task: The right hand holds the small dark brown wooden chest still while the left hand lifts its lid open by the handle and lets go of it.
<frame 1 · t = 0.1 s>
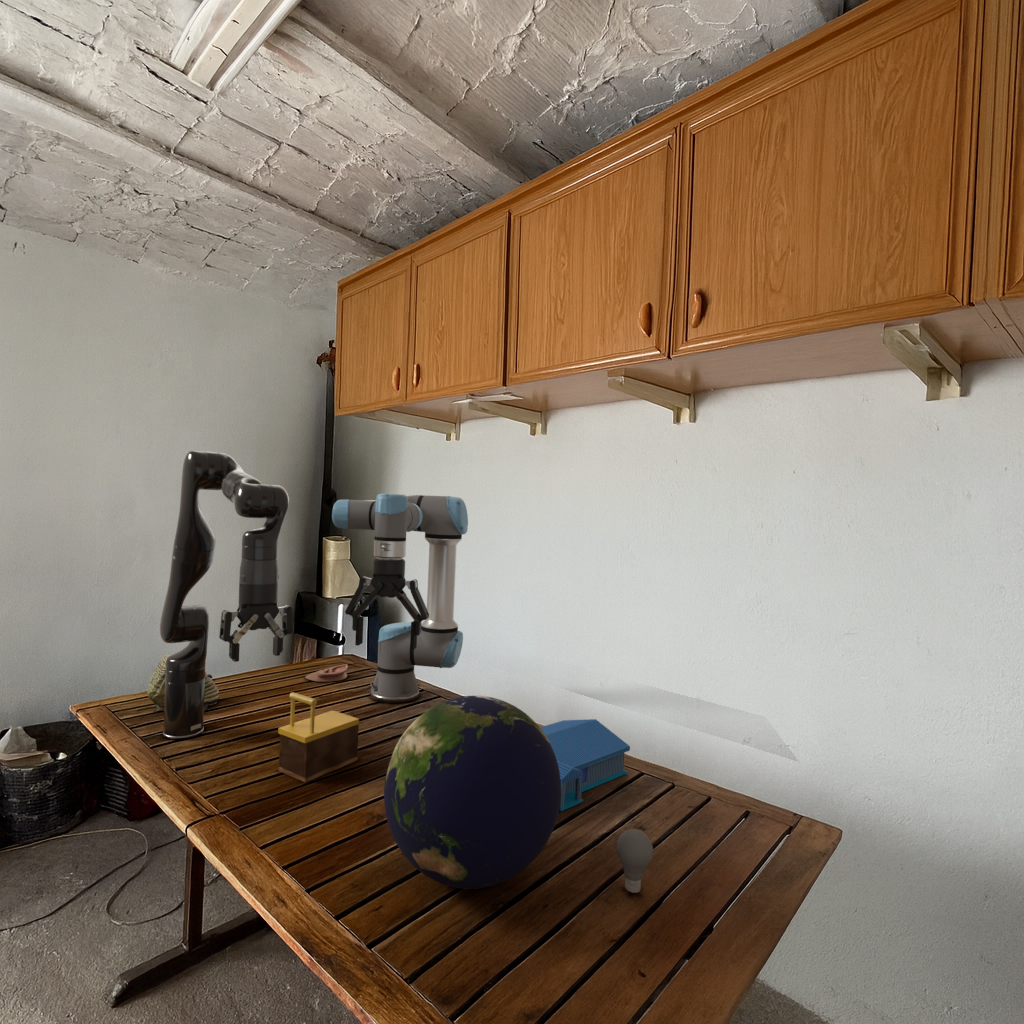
left hand: (256, 657, 132), 29 cm above the table, tool pointing down, fingers open, 8 cm apart
right hand: (385, 646, 152), 28 cm above the table, tool pointing down, fingers open, 13 cm apart
globe: (469, 875, 108), on the table
model building: (543, 782, 145), on the table
chest: (319, 765, 149), on the table
lid: (320, 709, 149), point 13 cm above the table, hinge at 0.0°
fossil: (183, 706, 185), on the table
light bulb: (632, 891, 106), on the table
anatomical model: (326, 678, 219), on the table
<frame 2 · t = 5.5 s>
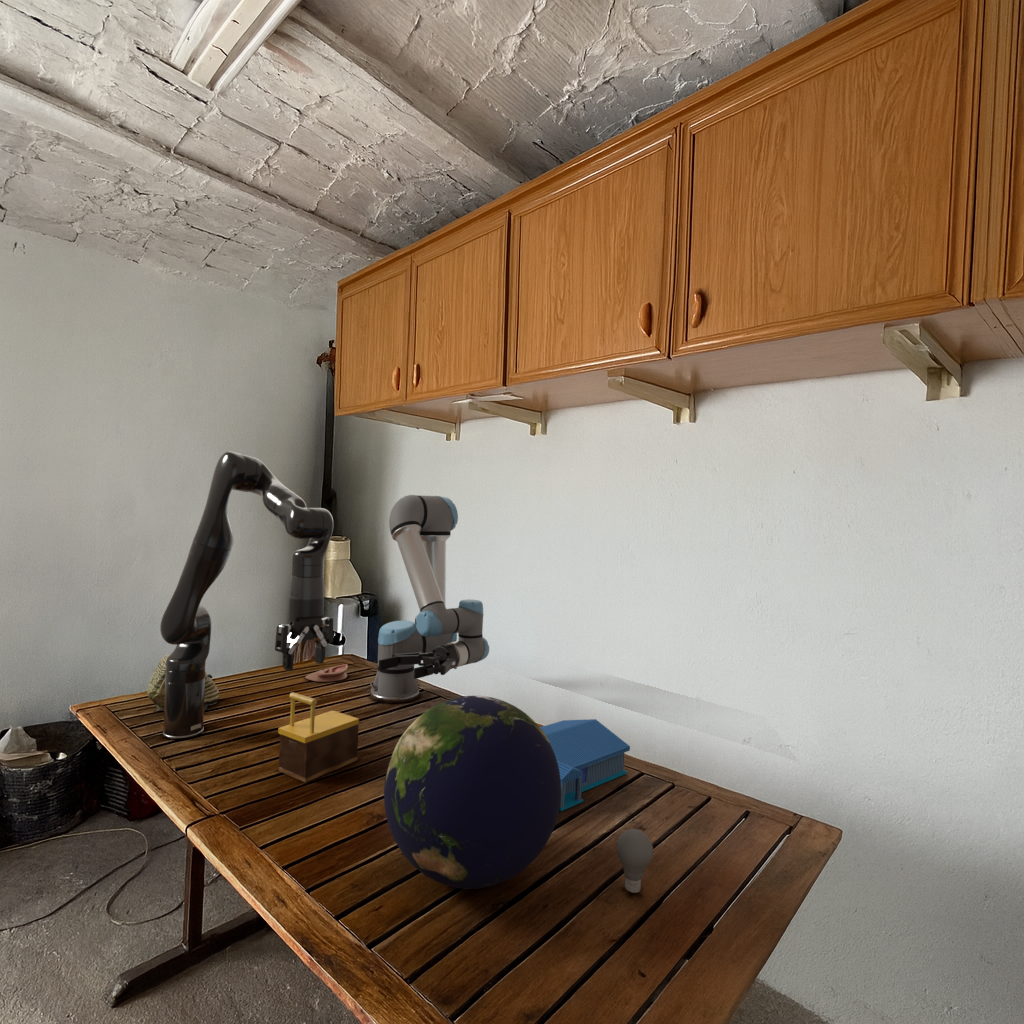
left hand: (304, 666, 144), 25 cm above the table, tool pointing down, fingers open, 8 cm apart
right hand: (396, 669, 171), 17 cm above the table, tool horizontal, fingers open, 13 cm apart
nothing on the table moved.
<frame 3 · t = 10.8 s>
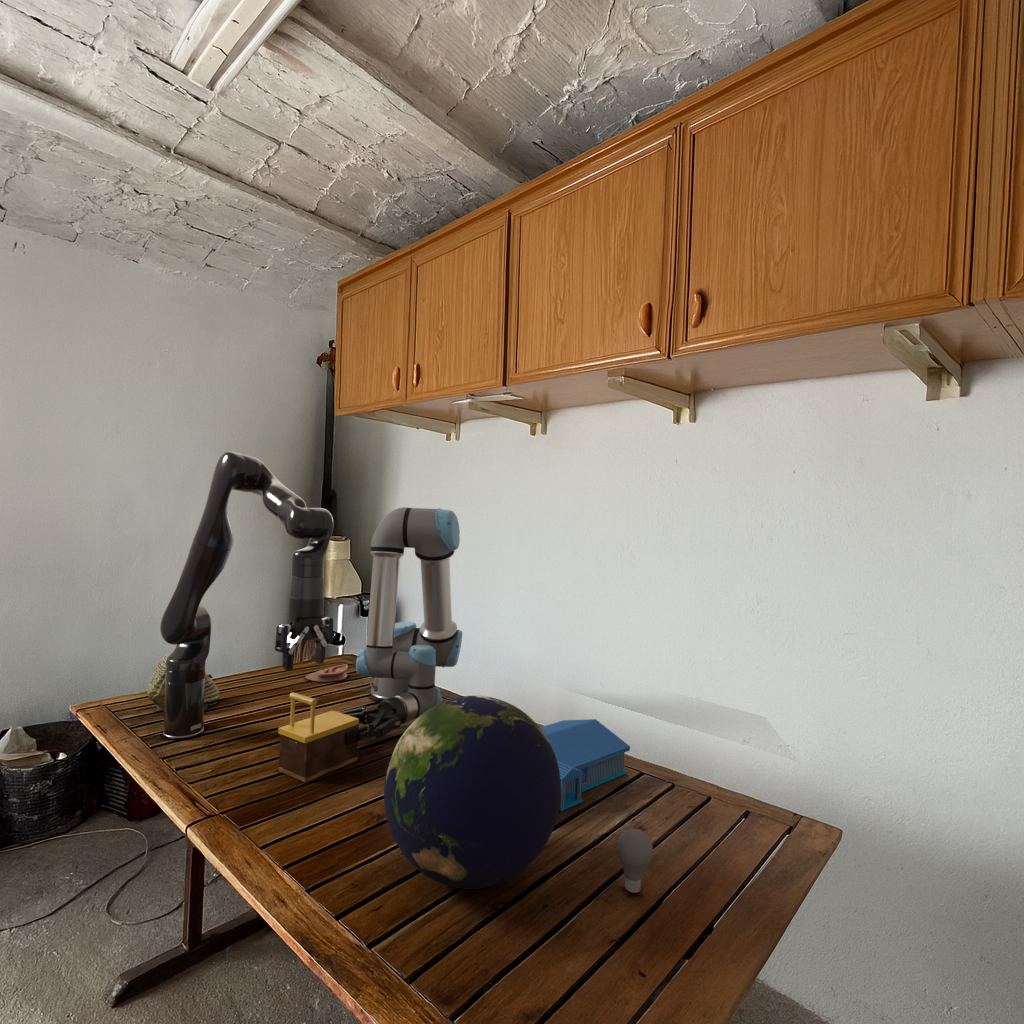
left hand: (304, 666, 144), 25 cm above the table, tool pointing down, fingers open, 8 cm apart
right hand: (331, 734, 152), 6 cm above the table, tool horizontal, fingers closed on chest, 9 cm apart
chest: (319, 765, 149), on the table, touching right hand
everything else where it was.
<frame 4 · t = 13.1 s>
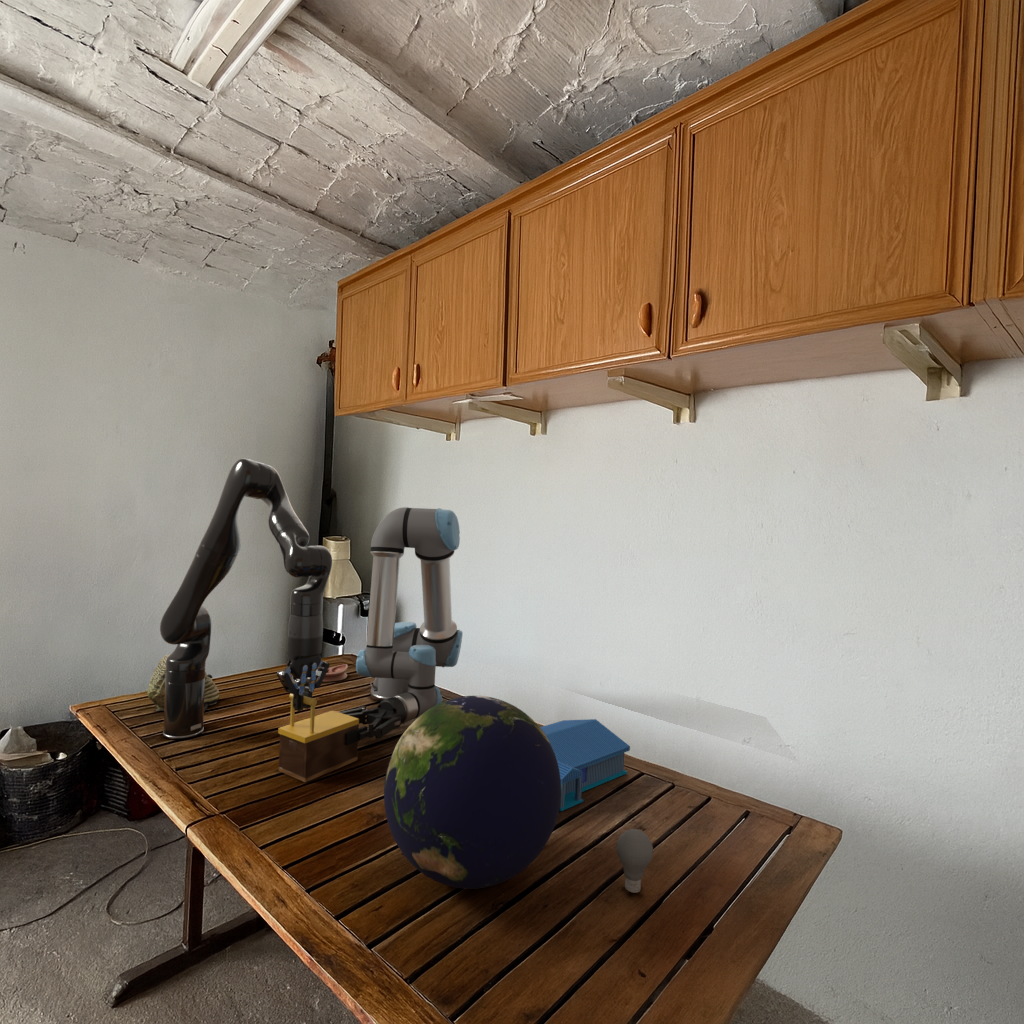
left hand: (302, 708, 144), 15 cm above the table, tool pointing down, fingers closed
right hand: (331, 734, 152), 6 cm above the table, tool horizontal, fingers closed on chest, 9 cm apart
chest: (319, 765, 149), on the table, touching right hand
lid: (320, 709, 149), point 13 cm above the table, hinge at 0.0°, touching left hand
everything else where it was.
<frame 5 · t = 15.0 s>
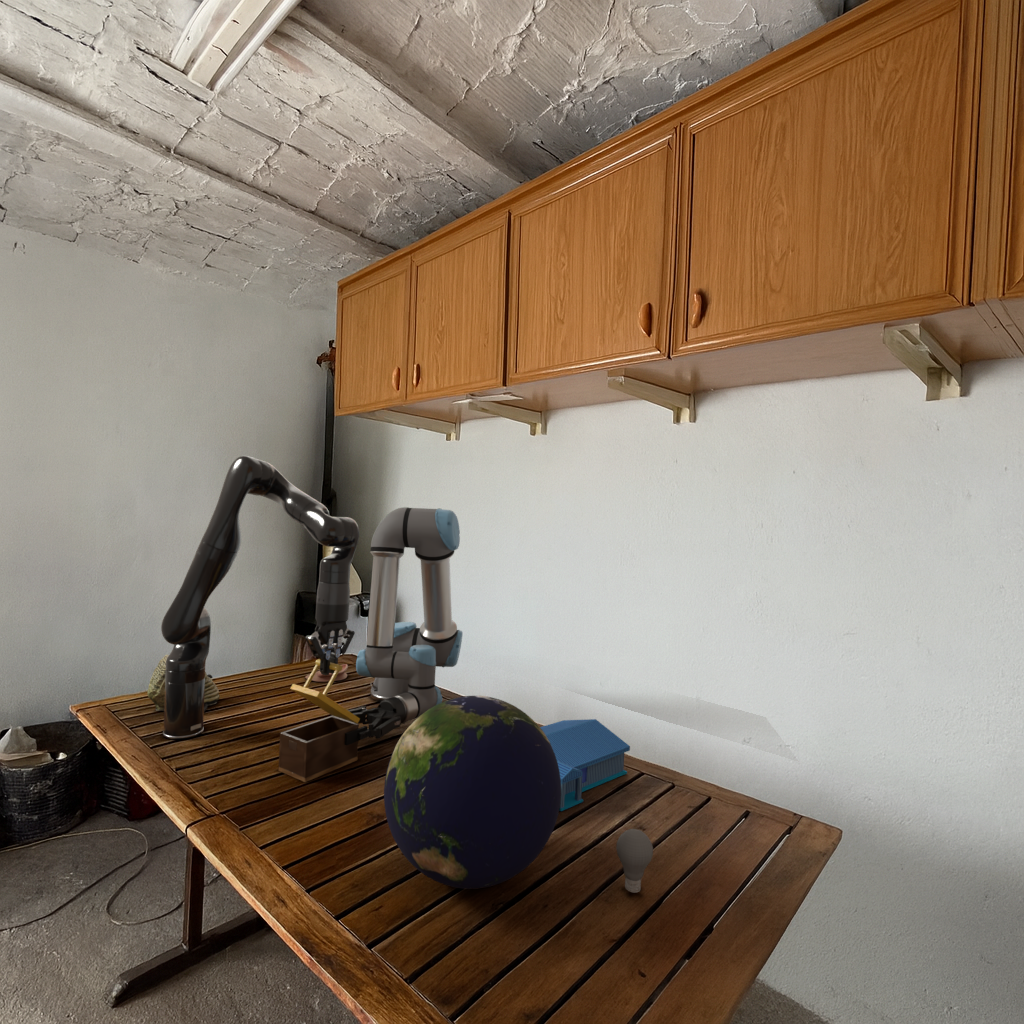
left hand: (328, 673, 150), 21 cm above the table, tool pointing down, fingers closed
right hand: (331, 734, 152), 6 cm above the table, tool horizontal, fingers closed on chest, 9 cm apart
chest: (318, 765, 149), on the table, touching right hand
lid: (333, 688, 152), point 17 cm above the table, hinge at 37.0°, touching left hand
everything else where it was.
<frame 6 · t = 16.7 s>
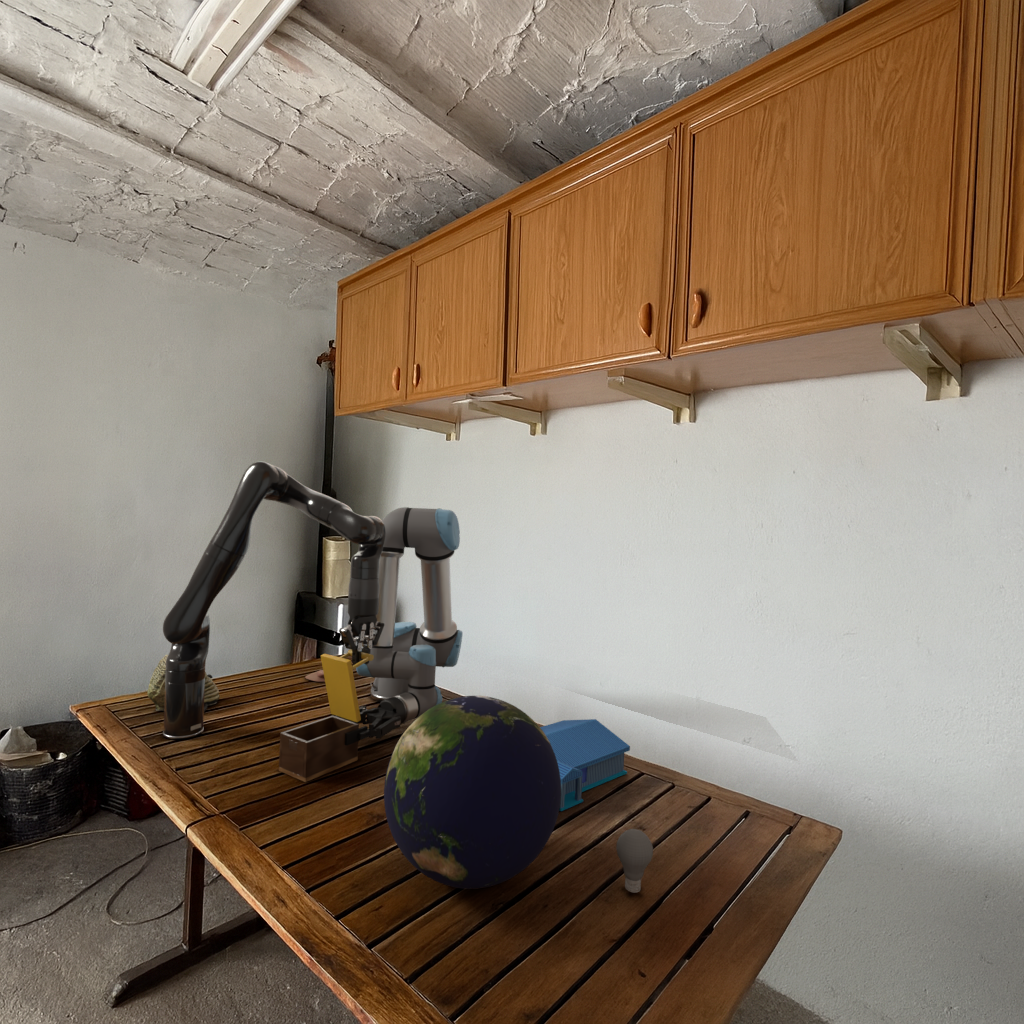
left hand: (361, 664, 159), 22 cm above the table, tool pointing down, fingers closed
right hand: (331, 734, 152), 6 cm above the table, tool horizontal, fingers closed on chest, 9 cm apart
chest: (319, 765, 149), on the table, touching right hand
lid: (352, 680, 157), point 18 cm above the table, hinge at 75.4°
everything else where it was.
when the right hand's fingers open (6 cm above the table, at t = 20.6 s): chest stays where it is, on the table.
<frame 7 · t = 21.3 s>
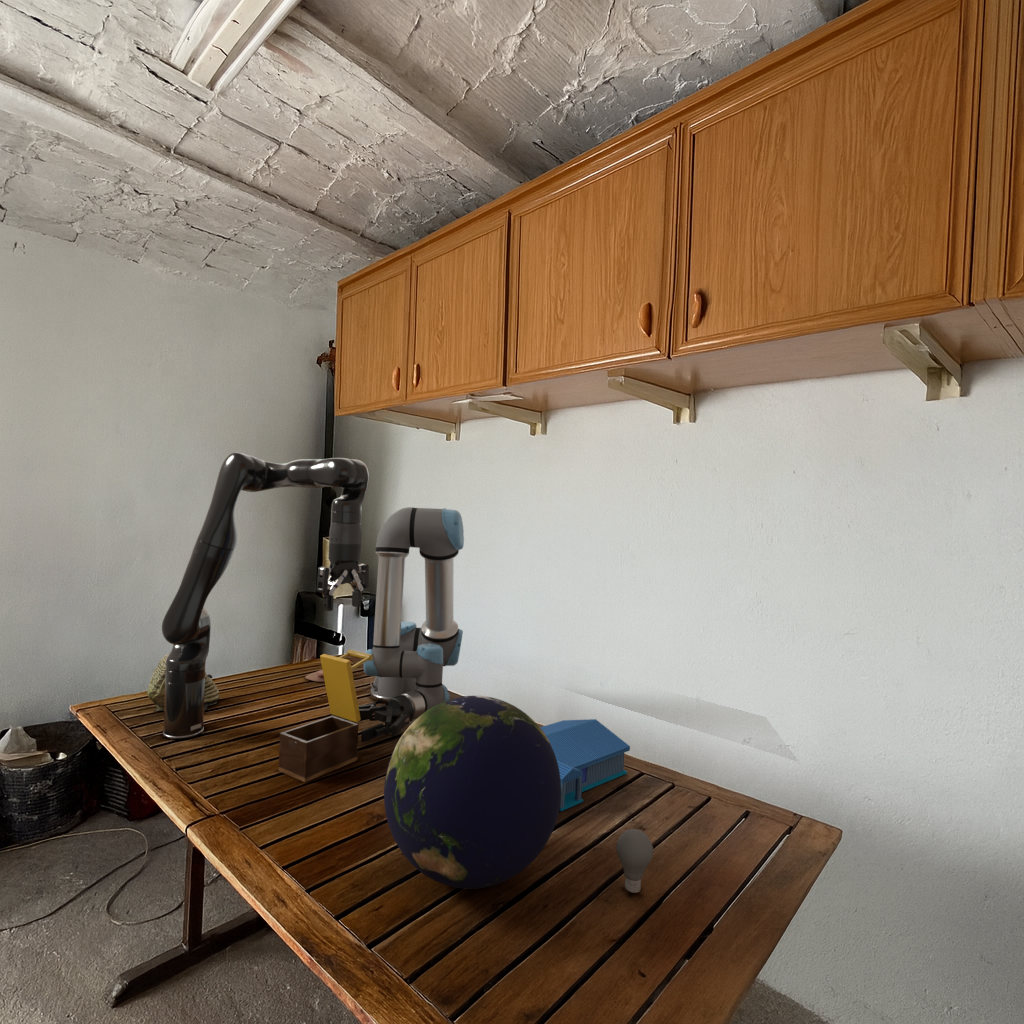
left hand: (342, 608, 153), 36 cm above the table, tool pointing down, fingers open, 8 cm apart
right hand: (343, 729, 155), 6 cm above the table, tool horizontal, fingers open, 13 cm apart
chest: (318, 765, 149), on the table
lid: (352, 680, 157), point 18 cm above the table, hinge at 75.0°
everything else where it was.
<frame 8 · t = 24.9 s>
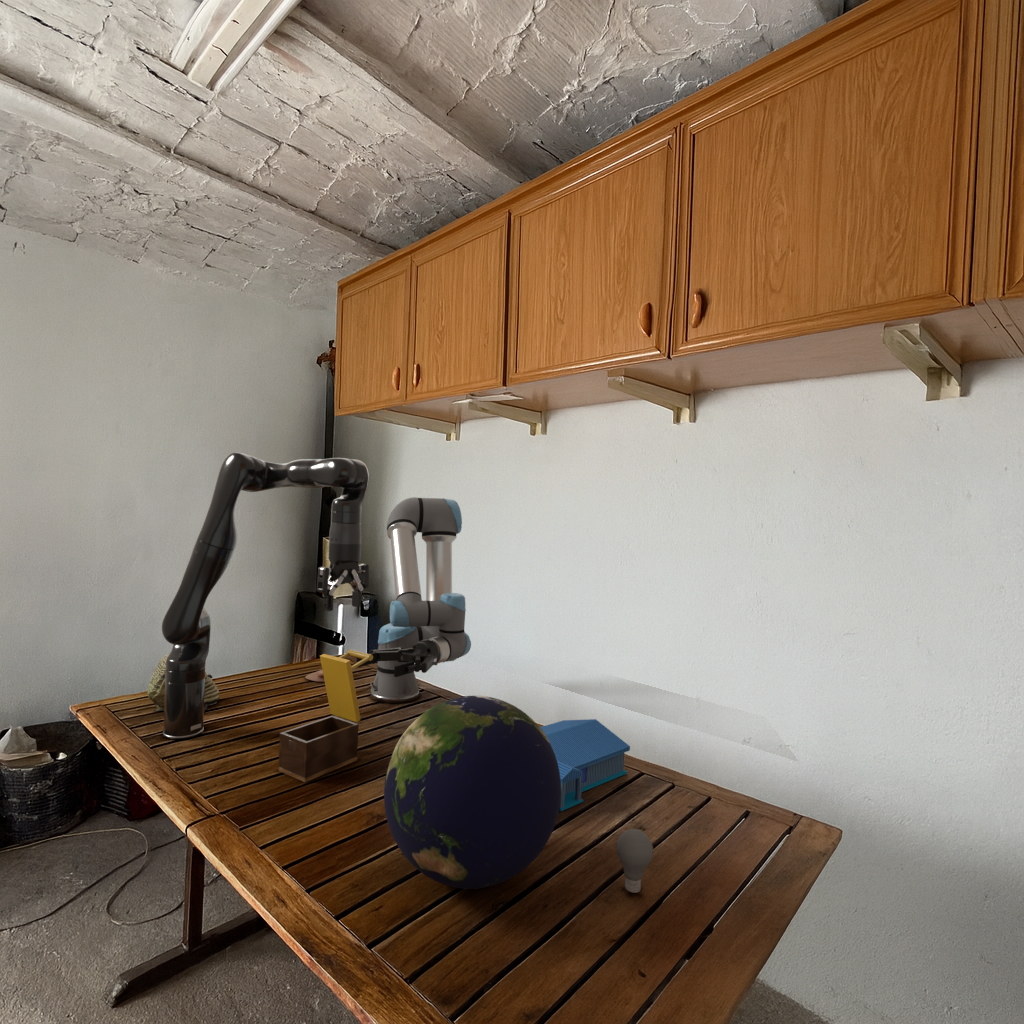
left hand: (342, 608, 153), 36 cm above the table, tool pointing down, fingers open, 8 cm apart
right hand: (375, 666, 163), 20 cm above the table, tool horizontal, fingers open, 13 cm apart
nothing on the table moved.
at the end: lid at +75° (first picture: +0°); the left hand is holding nothing; the right hand is holding nothing; chest tilted 0°; chest never tilted more than 1° during the clip; chest moved 0.0 cm from its start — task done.
